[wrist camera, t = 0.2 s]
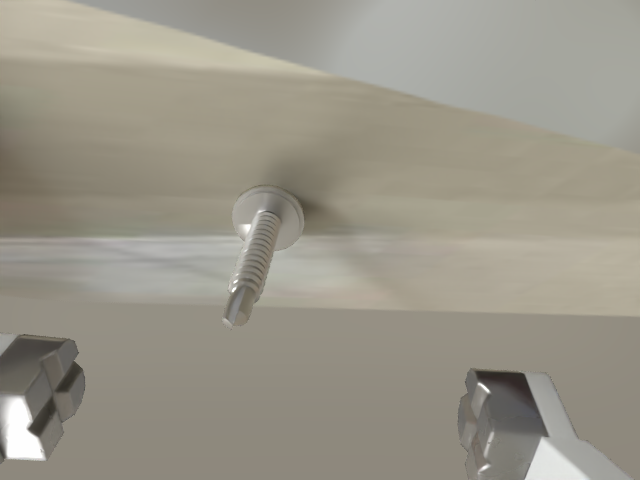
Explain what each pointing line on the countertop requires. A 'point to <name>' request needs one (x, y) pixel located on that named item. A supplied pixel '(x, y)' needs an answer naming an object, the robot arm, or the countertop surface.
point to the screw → (259, 244)
